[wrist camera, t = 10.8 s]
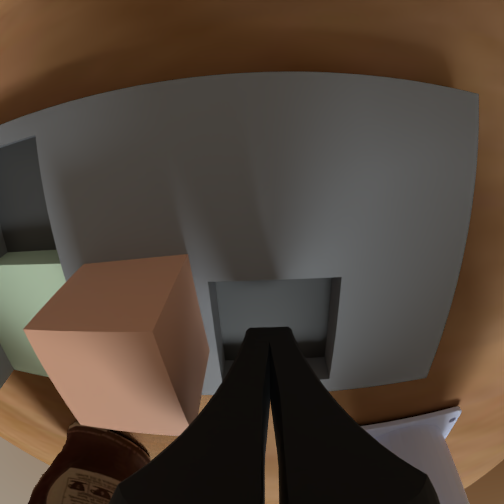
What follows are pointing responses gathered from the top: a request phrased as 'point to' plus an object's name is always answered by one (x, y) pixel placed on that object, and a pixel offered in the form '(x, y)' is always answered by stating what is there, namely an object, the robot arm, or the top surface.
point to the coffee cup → (88, 467)
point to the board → (253, 210)
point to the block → (126, 344)
